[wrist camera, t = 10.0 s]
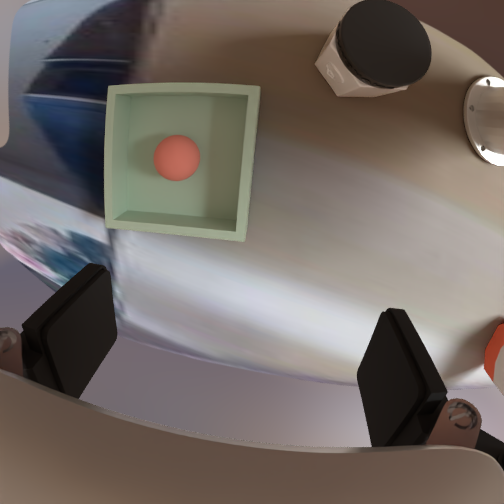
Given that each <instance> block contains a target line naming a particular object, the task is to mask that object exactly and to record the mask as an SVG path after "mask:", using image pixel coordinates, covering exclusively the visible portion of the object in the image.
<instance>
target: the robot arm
mask: <svg viewBox="0 0 504 504" xmlns="http://www.w3.org/2000/svg"><path fill="white" fill-rule="evenodd" d="M464 123H465V128H466V132H467V135H468V138H469V140H470V142H471V144H472V146H473V148H474V149H475V151H476V152H477V153H478V155H479V156H480V157H481V158H483V159H484V160H485V161H487V162H488V163H490V164H494V165H497V166H504V81H503V80H502V79H499V78H497V77H492V76H487V77H482V78H479V79H477V80H476V81H474V82H473V83H472V85H471V86H470V87H469V89H468V91H467V93H466V97H465V100H464ZM22 328H23V332H22V333H21V334H20V333H19V332H18V331H17V330H16V329H14V328H10V327H3V328H0V504H504V443H503V442H502V441H500V440H498V439H496V438H495V437H493V436H491V435H489V434H488V433H486V432H485V431H483V430H481V429H480V428H481V423H482V419H481V415H480V413H479V411H478V409H477V408H476V407H475V406H474V405H473V404H471V403H470V402H468V401H466V400H464V399H459V398H455V399H450V400H449V401H448V399H447V397H446V394H447V389H446V387H445V385H444V383H443V381H442V379H441V377H440V375H439V373H438V371H437V369H436V367H435V365H434V363H433V361H432V359H431V357H430V355H429V353H428V352H427V350H426V348H425V346H424V344H423V342H422V340H421V338H420V337H419V335H418V333H417V331H416V329H415V328H414V326H413V324H412V322H411V320H410V319H409V317H408V315H407V313H406V312H405V310H403V309H395V308H388V309H387V310H386V312H382V313H381V315H380V317H379V320H378V322H377V325H376V327H375V330H374V332H373V335H372V337H371V340H370V342H369V345H368V347H367V350H366V352H365V354H364V357H363V359H362V361H361V364H360V366H359V368H358V371H357V381H358V385H359V389H360V394H361V397H362V402H363V407H364V412H365V416H366V421H367V426H368V430H369V435H370V440H371V445H372V447H349V448H348V447H310V446H293V445H281V444H270V443H261V442H252V441H245V440H237V439H231V438H224V437H218V436H212V435H207V434H202V433H197V432H192V431H186V430H182V429H178V428H173V427H169V426H165V425H160V424H157V423H153V422H149V421H145V420H142V419H138V418H134V417H131V416H127V415H124V414H120V413H118V412H114V411H111V410H108V409H104V408H102V407H99V406H96V405H93V404H90V403H87V402H85V401H82V400H79V397H80V396H81V394H82V393H83V391H84V389H85V388H86V386H87V385H88V383H89V381H90V380H91V378H92V377H93V375H94V374H95V372H96V370H97V369H98V367H99V366H100V364H101V363H102V361H103V360H104V358H105V356H106V355H107V353H108V352H109V350H110V349H111V347H112V346H113V344H114V343H115V341H116V339H117V327H116V320H115V312H114V304H113V295H112V286H111V276H110V272H109V271H108V270H107V269H106V267H105V266H104V265H99V264H93V263H89V264H88V265H86V266H85V267H84V268H83V269H82V270H81V271H79V272H78V273H77V274H76V275H75V276H74V277H72V278H71V279H70V280H69V281H68V282H67V283H66V284H65V285H63V286H62V287H61V288H60V289H59V290H58V291H57V292H56V293H55V294H54V295H52V296H51V297H50V298H49V299H48V300H47V301H46V302H45V303H44V304H43V305H42V306H41V307H40V308H38V309H37V310H36V311H35V312H34V313H33V314H32V315H31V316H30V317H29V318H28V319H27V320H26V321H25V322H24V323H23V324H22Z"/></svg>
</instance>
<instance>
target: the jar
mask: <svg viewBox="0 0 504 504" xmlns="http://www.w3.org/2000/svg"><path fill="white" fill-rule="evenodd" d="M431 54H432V53H431V45H430V41H429V38H428V35H427V33H426V31H425V29H424V28H423V26H422V25H421V23H420V22H419V21H418V20H417V18H416V17H415V16H414V15H412V14H411V13H410V12H409V11H408V10H406V9H405V8H403V7H402V6H400V5H398V4H395V3H393V2H390V1H387V0H364V1H361V2H358V3H357V4H355V5H353V6H352V7H351V8H348V9H347V11H346V12H345V13H344V15H343V16H342V18H341V19H340V21H339V22H338V23H337V25H336V26H335V28H334V29H333V31H332V32H331V33H330V35H329V37H328V39H327V41H326V43H325V45H324V46H323V48H322V50H321V52H320V54H319V56H318V58H317V60H316V62H315V66H316V67H317V69H318V70H319V71H320V73H321V74H322V75H323V77H324V78H325V79H326V81H327V82H328V84H329V85H330V87H331V88H332V89H333V91H334V92H335V94H336V95H337V96H339V97H377V96H381V95H385V94H389V93H393V92H398V91H402V90H406V89H407V87H408V85H410V84H413V83H415V82H417V81H418V80H420V79H421V78H422V77H423V76H424V75H425V73H426V72H427V70H428V68H429V66H430V62H431Z"/></svg>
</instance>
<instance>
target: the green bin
mask: <svg viewBox="0 0 504 504" xmlns="http://www.w3.org/2000/svg"><path fill="white" fill-rule="evenodd" d="M260 97H261V89H260V86H253V85H240V84H222V83H143V84H126V85H113V86H108V95H107V107H106V122H105V146H104V201H105V225H106V228H113V229H124V230H134V231H144V232H154V233H164V234H174V235H184V236H193V237H203V238H213V239H222V240H232V241H241V242H245V237H246V232H247V226H248V216H249V206H250V196H251V186H252V175H253V165H254V156H255V146H256V136H257V126H258V116H259V107H260ZM172 135H183V136H186V137H188V138H190V139H191V140H193V141H194V142H195V143H196V145H197V147H198V149H199V152H200V162H199V166H198V168H197V170H196V171H195V172H194V174H193V175H191V176H190V177H189V178H187V179H185V180H181V181H171V180H168V179H165V178H164V177H162V176H161V175H160V174H159V173H158V172H157V170H156V168H155V165H154V159H153V158H154V152H155V149H156V147H157V146H158V144H159V143H160V142H161V141H162V140H163V139H165V138H167V137H169V136H172Z"/></svg>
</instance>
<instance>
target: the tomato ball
mask: <svg viewBox="0 0 504 504" xmlns="http://www.w3.org/2000/svg"><path fill="white" fill-rule="evenodd" d="M153 159H154V165H155V168H156V170H157V172H158V173H159V174H160V175H161V176H162V177H164V178H165V179H168V180H171V181H181V180H185V179H187V178H189V177H190V176H191V175H193V174H194V172H195V171H196V170H197V168H198V166H199V162H200V152H199V149H198V147H197V145H196V143H195V142H194V141H193V140H191V139H190V138H188V137H186V136H183V135H172V136H169V137H167V138H165V139H163V140H162V141H161V142H160V143H159V144H158V146H157V147H156V149H155V152H154V158H153Z"/></svg>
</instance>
